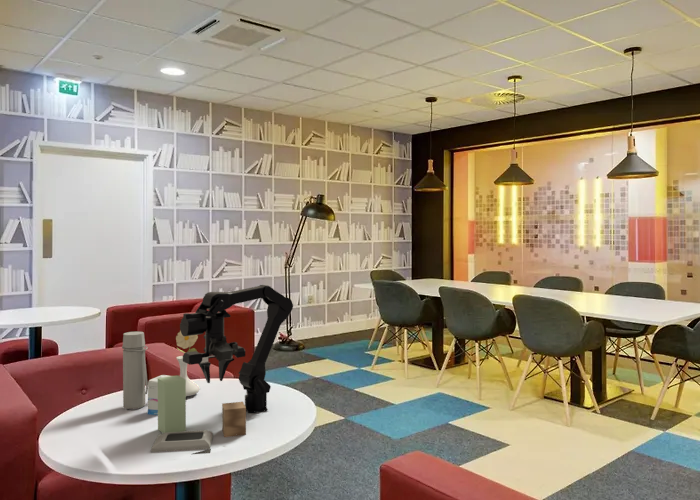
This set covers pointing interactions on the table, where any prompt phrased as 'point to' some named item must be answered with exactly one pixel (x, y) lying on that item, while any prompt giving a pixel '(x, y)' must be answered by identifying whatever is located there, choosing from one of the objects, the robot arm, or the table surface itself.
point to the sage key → (171, 404)
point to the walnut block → (233, 419)
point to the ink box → (153, 395)
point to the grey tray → (184, 441)
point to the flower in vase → (185, 343)
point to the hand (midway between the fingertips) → (214, 381)
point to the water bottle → (134, 370)
